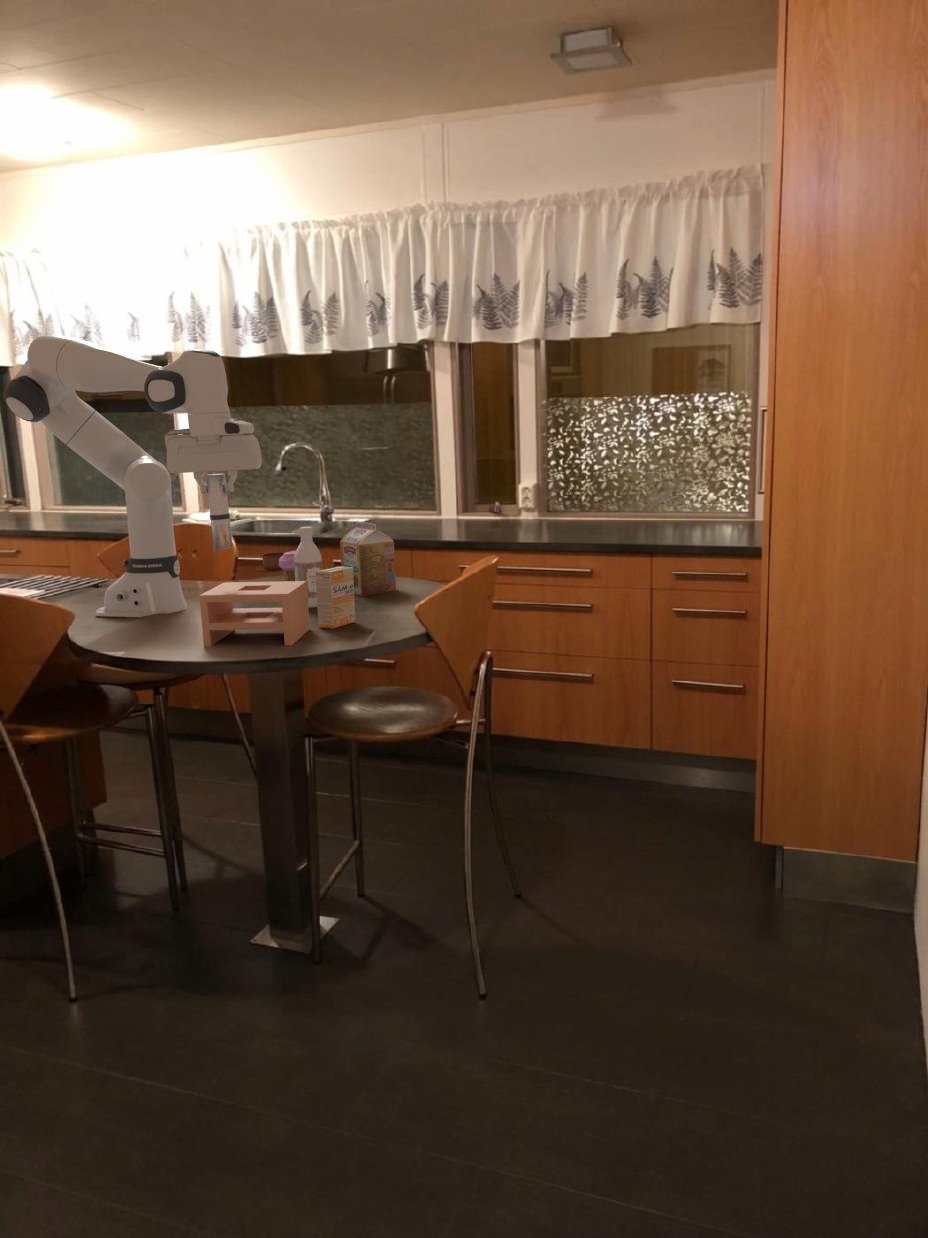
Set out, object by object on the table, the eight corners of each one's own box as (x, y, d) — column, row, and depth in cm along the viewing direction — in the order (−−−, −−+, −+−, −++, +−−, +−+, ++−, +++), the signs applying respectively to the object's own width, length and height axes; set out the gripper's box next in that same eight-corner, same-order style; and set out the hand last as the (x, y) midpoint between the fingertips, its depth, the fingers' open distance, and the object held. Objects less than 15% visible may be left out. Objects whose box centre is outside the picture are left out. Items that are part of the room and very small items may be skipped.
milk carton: (396, 593, 264) (392, 522, 260) (361, 598, 258) (357, 525, 255) (376, 588, 273) (373, 519, 269) (342, 592, 267) (338, 523, 263)
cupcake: (276, 587, 279) (273, 552, 277) (286, 582, 287) (284, 548, 285) (306, 587, 277) (304, 552, 275) (315, 582, 286) (313, 548, 284)
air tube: (210, 550, 213) (202, 475, 209) (217, 547, 217) (209, 474, 213) (229, 549, 212) (221, 474, 209) (235, 546, 216) (228, 473, 213)
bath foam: (304, 609, 245) (298, 529, 241) (292, 605, 251) (287, 527, 247) (329, 605, 249) (324, 527, 245) (317, 602, 255) (312, 524, 251)
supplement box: (334, 629, 221) (330, 571, 218) (317, 627, 223) (314, 570, 221) (357, 622, 228) (353, 566, 225) (340, 620, 230) (337, 565, 228)
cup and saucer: (277, 569, 313) (276, 550, 312) (303, 572, 306) (302, 553, 304) (247, 575, 304) (246, 555, 302) (273, 578, 296) (272, 558, 295)
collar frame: (203, 646, 208) (199, 595, 206) (228, 630, 224) (224, 582, 222) (291, 645, 207) (288, 593, 204) (309, 628, 222) (306, 580, 220)
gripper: (157, 430, 207) (165, 496, 210) (251, 424, 205) (258, 491, 208) (169, 429, 213) (177, 493, 216) (260, 424, 211) (267, 489, 214)
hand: (217, 492), depth 212 cm, fingers closed on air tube, 4 cm apart
